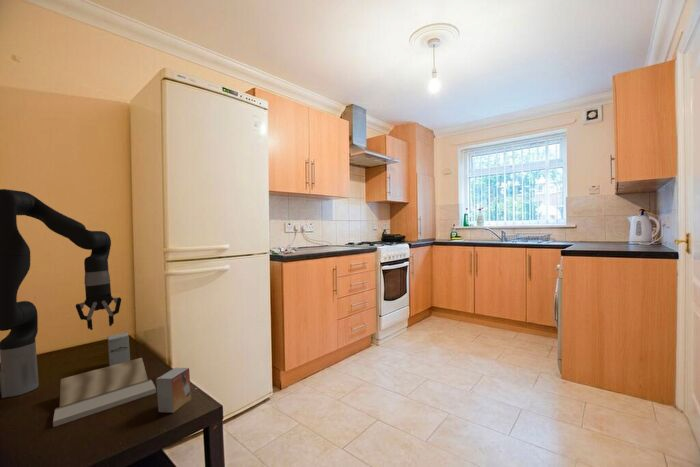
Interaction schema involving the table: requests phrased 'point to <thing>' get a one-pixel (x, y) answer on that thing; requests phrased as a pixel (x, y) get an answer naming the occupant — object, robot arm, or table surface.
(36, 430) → the table surface
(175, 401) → the small box
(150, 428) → the table surface
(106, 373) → the oak plank
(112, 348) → the supplement box
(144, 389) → the grey board
